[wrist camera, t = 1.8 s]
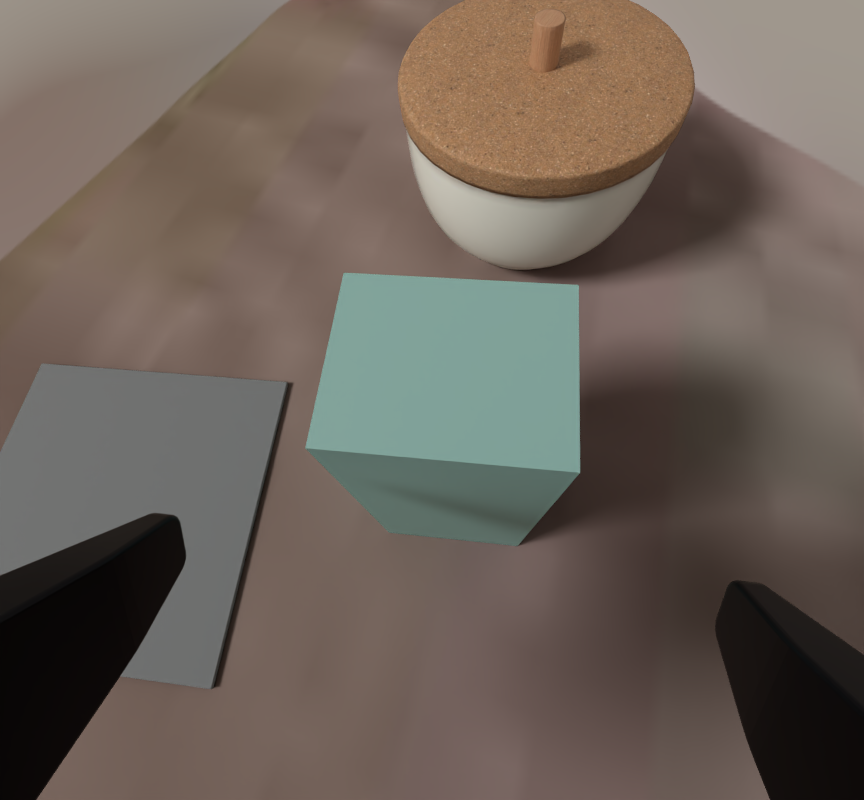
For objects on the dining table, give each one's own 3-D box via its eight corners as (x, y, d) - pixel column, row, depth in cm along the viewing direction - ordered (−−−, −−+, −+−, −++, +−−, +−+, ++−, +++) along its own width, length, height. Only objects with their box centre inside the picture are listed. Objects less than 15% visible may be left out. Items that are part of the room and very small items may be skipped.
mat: (213, 688, 17) (210, 689, 17) (-86, 645, 19) (-92, 646, 18) (288, 384, 22) (286, 382, 22) (45, 365, 23) (41, 363, 23)
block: (517, 546, 19) (579, 472, 9) (389, 532, 19) (305, 447, 9) (521, 446, 20) (578, 285, 10) (402, 436, 21) (343, 272, 11)
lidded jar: (375, 255, 25) (328, 65, 16) (480, 123, 28) (487, -94, 19) (571, 347, 22) (641, 178, 13) (662, 189, 25) (765, -29, 17)
